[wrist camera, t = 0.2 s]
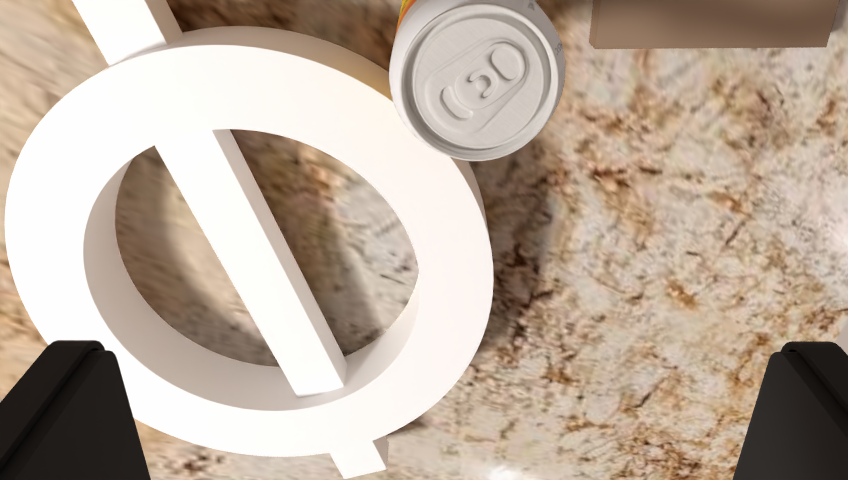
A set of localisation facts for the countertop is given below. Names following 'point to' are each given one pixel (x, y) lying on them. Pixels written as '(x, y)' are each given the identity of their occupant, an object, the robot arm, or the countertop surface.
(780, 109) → the countertop surface
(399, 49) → the beer can
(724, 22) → the wooden tray with frame
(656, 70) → the countertop surface
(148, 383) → the white circle with bar
